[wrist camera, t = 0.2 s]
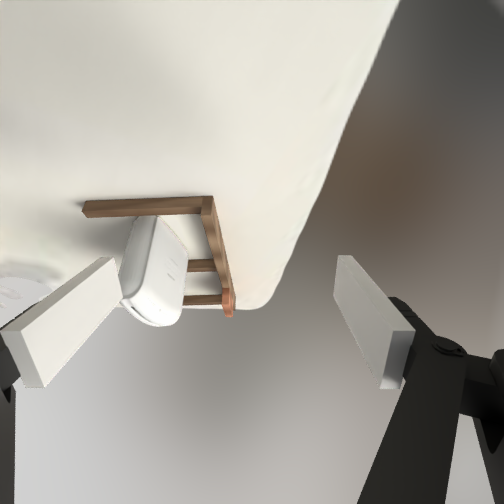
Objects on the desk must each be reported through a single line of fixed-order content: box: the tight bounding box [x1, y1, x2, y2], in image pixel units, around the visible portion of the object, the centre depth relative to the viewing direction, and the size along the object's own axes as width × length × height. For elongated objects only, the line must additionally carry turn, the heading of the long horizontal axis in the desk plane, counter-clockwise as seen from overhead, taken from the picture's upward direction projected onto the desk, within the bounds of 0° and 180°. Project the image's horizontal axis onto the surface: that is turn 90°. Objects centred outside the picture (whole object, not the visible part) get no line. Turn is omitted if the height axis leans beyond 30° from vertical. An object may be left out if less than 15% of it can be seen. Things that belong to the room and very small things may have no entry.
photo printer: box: [118, 215, 188, 326], centre depth 34 cm, size 10×4×12 cm, turn 13°
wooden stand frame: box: [82, 196, 236, 317], centre depth 42 cm, size 29×15×6 cm, turn 2°
